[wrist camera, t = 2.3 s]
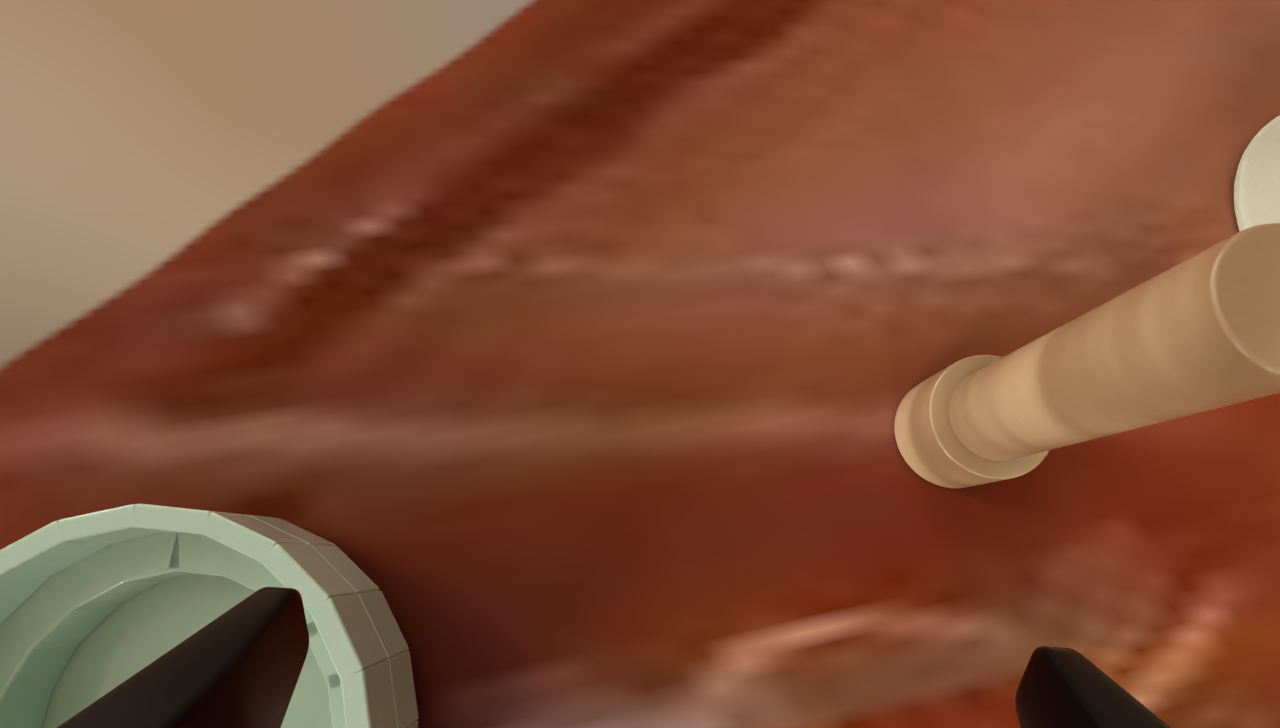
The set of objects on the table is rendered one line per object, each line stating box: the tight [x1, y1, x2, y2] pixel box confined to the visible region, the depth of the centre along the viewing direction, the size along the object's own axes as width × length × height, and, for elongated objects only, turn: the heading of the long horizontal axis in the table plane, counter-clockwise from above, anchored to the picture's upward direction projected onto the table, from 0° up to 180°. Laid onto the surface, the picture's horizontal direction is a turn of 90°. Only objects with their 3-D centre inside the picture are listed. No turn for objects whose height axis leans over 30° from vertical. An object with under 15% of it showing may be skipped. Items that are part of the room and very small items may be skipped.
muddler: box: [895, 223, 1280, 488], centre depth 18 cm, size 4×4×13 cm
